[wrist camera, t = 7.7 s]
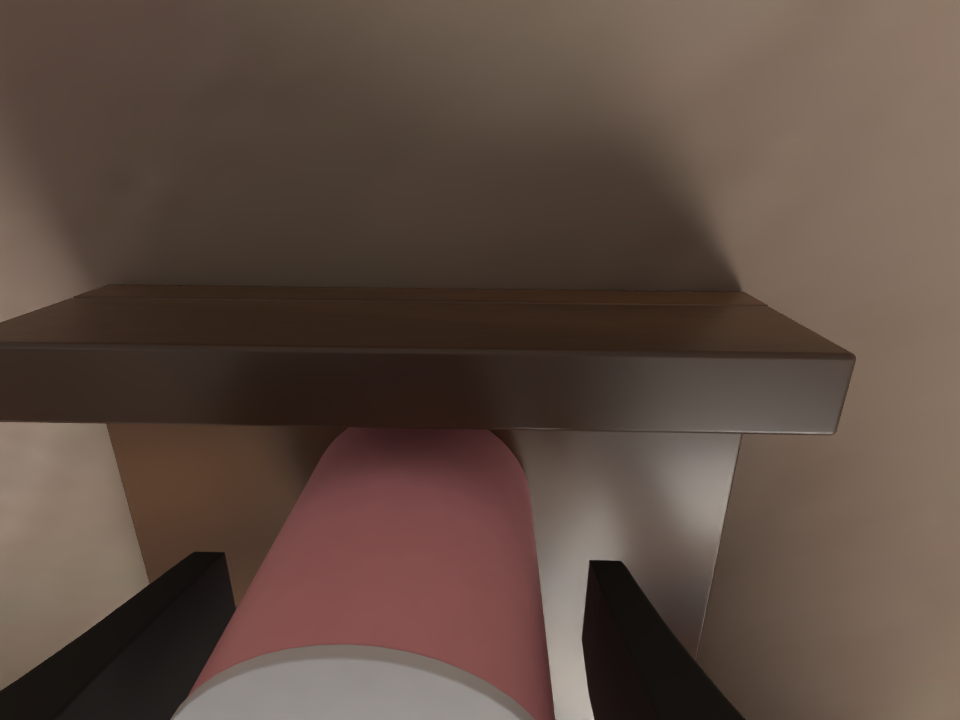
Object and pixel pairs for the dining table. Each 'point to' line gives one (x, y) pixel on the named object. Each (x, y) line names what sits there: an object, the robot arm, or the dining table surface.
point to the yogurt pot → (392, 592)
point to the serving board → (435, 415)
